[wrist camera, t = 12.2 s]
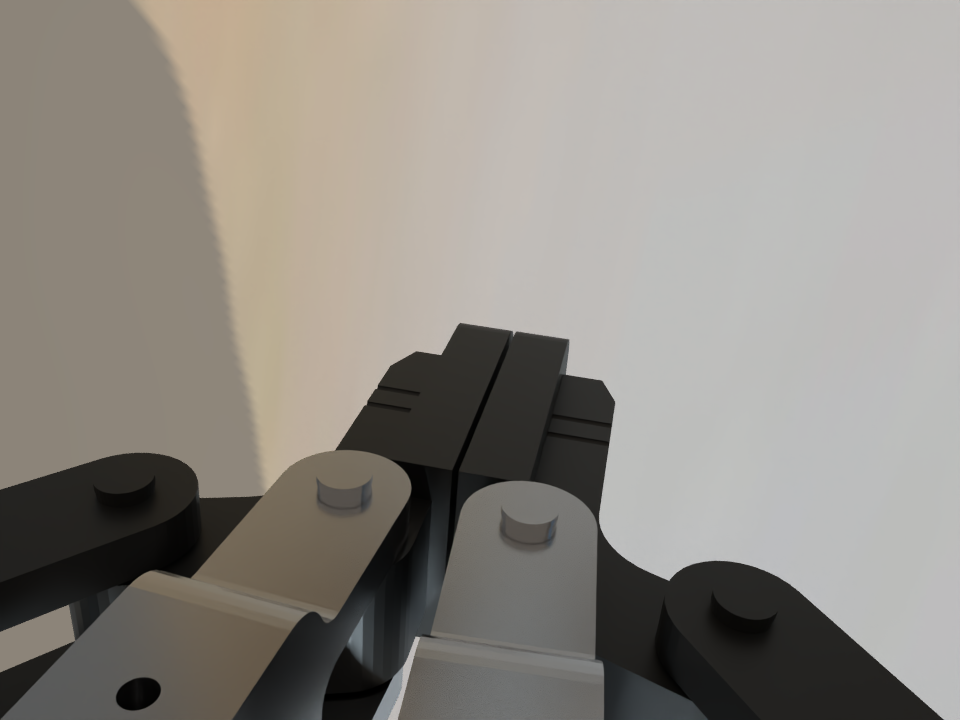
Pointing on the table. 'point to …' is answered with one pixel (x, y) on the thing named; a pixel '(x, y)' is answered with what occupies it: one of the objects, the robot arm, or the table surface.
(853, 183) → the table surface
